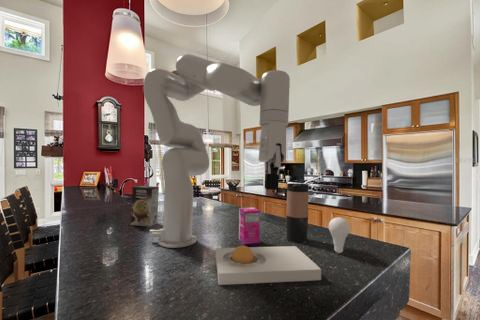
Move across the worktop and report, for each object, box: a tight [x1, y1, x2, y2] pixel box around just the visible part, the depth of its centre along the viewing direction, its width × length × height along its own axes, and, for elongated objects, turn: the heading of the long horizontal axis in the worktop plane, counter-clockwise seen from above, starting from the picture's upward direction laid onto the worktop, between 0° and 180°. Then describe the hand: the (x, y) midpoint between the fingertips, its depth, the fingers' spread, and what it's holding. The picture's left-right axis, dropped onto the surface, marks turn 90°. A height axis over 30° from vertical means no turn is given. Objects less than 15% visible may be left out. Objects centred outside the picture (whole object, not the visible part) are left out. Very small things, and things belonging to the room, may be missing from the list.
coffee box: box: [130, 185, 160, 227], centre depth 103 cm, size 9×6×16 cm
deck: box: [214, 245, 322, 286], centre depth 62 cm, size 24×16×2 cm, turn 99°
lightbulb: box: [328, 216, 351, 254], centre depth 74 cm, size 6×6×11 cm
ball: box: [232, 245, 253, 264], centre depth 62 cm, size 6×6×6 cm
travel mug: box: [285, 182, 309, 244], centre depth 87 cm, size 8×8×20 cm
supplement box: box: [238, 206, 261, 246], centre depth 82 cm, size 6×6×12 cm
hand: (271, 189), depth 63 cm, fingers closed
